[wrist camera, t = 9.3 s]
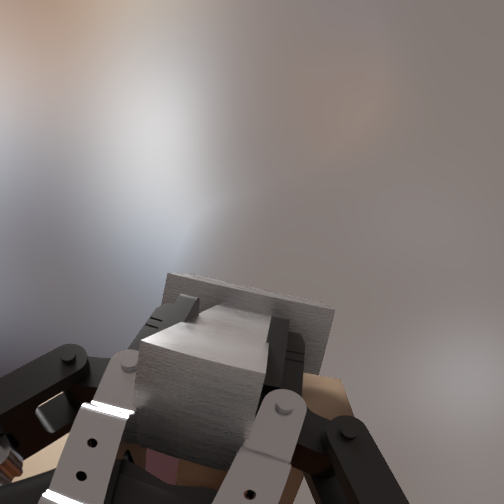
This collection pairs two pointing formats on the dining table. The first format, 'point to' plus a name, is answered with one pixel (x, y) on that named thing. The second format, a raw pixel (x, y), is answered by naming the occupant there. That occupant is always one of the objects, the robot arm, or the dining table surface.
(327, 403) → the tall wooden plank
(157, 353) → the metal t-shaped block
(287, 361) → the robot arm
